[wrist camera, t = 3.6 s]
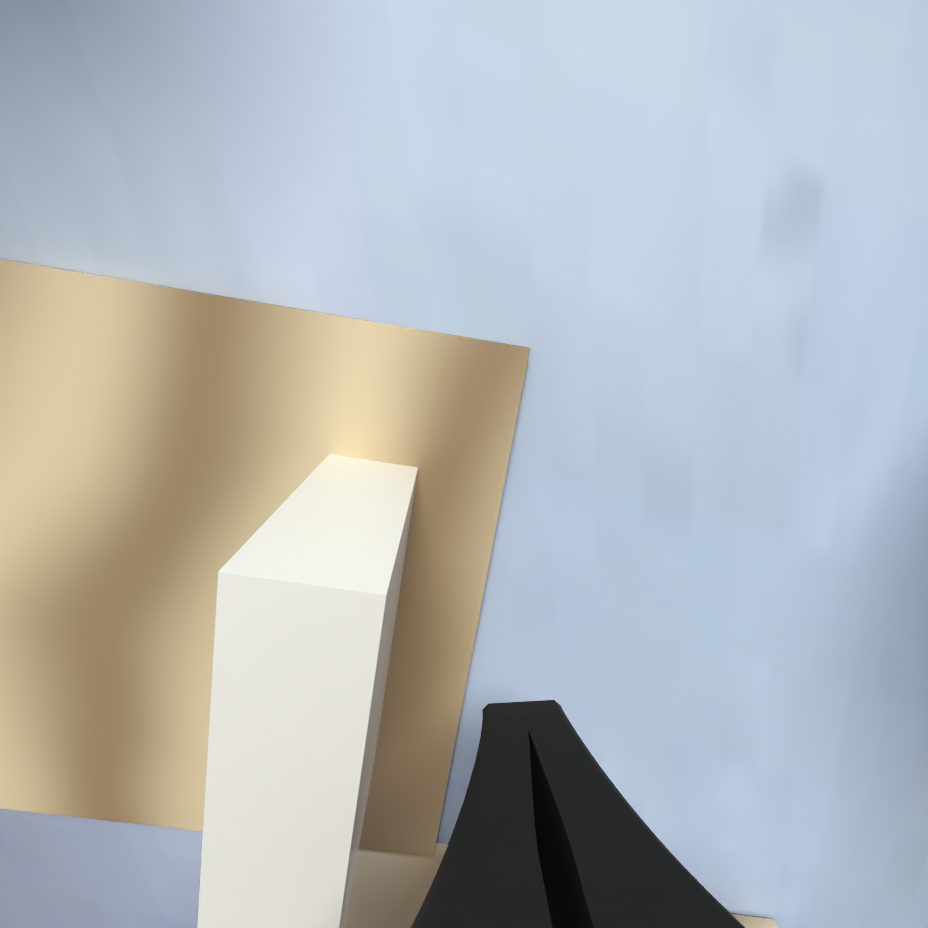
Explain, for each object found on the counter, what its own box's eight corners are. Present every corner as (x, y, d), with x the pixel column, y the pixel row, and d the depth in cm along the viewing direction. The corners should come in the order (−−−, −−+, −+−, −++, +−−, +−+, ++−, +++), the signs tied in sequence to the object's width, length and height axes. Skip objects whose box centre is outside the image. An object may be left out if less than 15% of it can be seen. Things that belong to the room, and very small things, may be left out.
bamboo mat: (527, 347, 12) (530, 348, 12) (434, 844, 16) (433, 857, 15) (-236, 219, 11) (-261, 215, 11) (-158, 776, 15) (-175, 788, 14)
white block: (418, 467, 12) (386, 595, 7) (374, 759, 14) (320, 1056, 9) (325, 453, 12) (209, 570, 6) (294, 749, 14) (184, 1043, 8)
